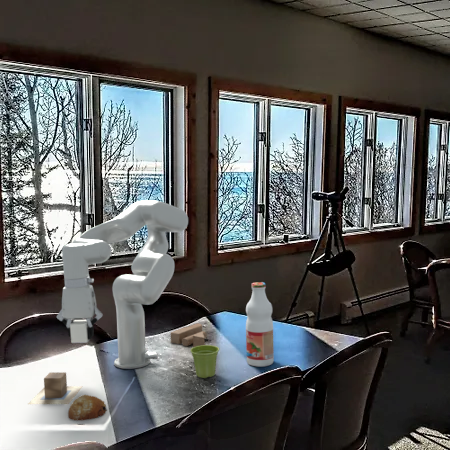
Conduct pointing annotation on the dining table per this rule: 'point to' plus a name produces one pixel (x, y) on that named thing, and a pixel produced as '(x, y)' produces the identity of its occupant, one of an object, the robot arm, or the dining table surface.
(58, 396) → the walnut block
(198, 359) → the plant pot
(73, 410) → the bread roll
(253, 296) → the fruit juice
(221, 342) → the dining table surface
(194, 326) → the wooden block set
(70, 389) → the birch board
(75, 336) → the cream block
